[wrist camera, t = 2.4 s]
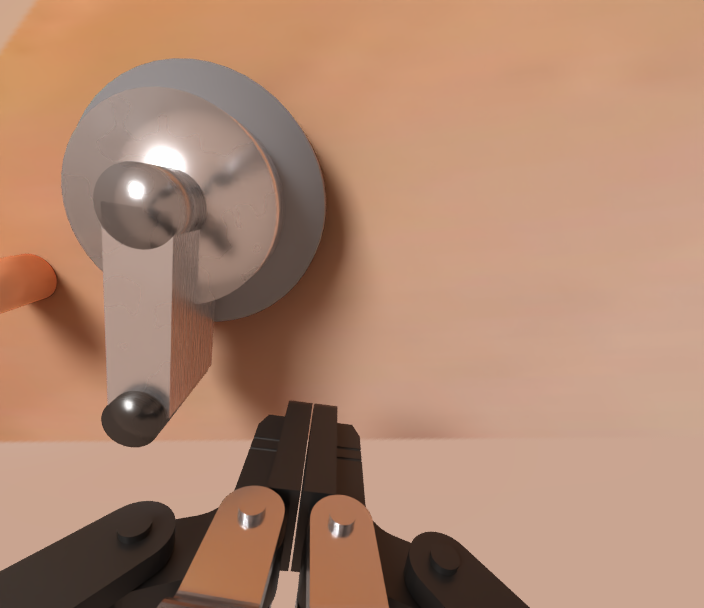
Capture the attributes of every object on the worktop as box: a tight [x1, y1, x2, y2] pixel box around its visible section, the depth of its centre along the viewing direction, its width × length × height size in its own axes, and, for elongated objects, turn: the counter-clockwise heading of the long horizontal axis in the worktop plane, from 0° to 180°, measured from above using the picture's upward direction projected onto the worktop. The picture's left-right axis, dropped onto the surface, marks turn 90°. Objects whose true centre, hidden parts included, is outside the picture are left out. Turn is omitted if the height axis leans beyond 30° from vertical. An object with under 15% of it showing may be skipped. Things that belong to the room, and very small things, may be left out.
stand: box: [0, 59, 326, 322], centre depth 15 cm, size 15×10×4 cm, turn 131°
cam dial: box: [61, 87, 285, 447], centre depth 12 cm, size 11×7×4 cm, turn 171°
